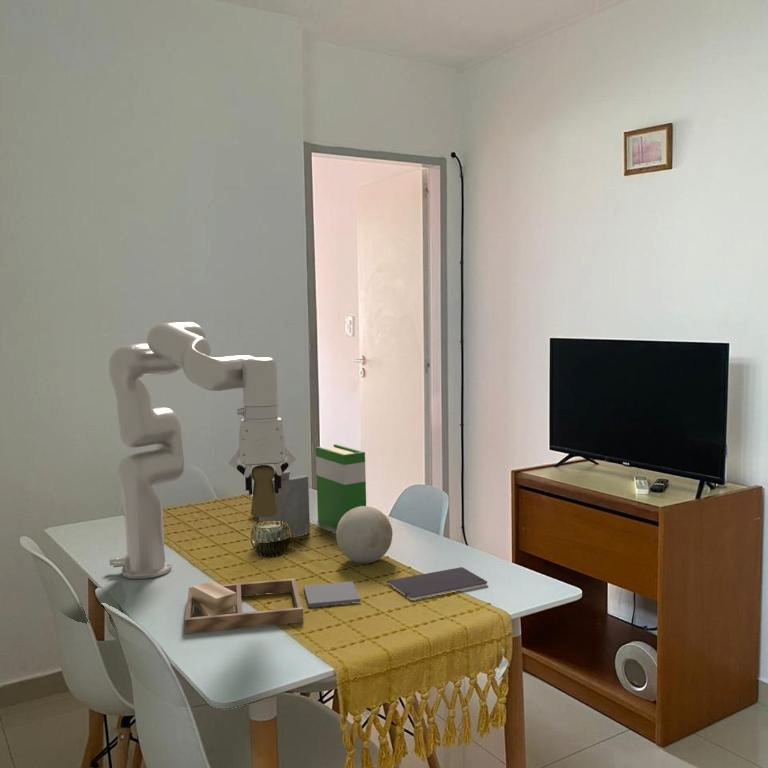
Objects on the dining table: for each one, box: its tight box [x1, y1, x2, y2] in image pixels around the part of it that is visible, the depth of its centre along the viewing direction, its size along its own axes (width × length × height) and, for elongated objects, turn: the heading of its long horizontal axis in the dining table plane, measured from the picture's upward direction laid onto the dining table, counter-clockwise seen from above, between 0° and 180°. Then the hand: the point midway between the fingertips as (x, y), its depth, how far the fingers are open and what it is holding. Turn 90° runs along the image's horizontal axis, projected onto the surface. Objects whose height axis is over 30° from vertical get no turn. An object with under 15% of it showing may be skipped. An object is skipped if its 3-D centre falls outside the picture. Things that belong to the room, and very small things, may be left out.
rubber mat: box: [303, 581, 362, 608], centre depth 192 cm, size 12×12×1 cm
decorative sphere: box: [335, 505, 394, 564], centre depth 216 cm, size 15×15×15 cm
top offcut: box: [192, 580, 237, 612], centre depth 182 cm, size 5×11×3 cm, turn 41°
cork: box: [250, 464, 278, 518], centre depth 182 cm, size 6×6×11 cm
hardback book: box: [315, 444, 367, 531], centre depth 251 cm, size 18×7×24 cm, turn 33°
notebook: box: [386, 567, 488, 600], centre depth 197 cm, size 13×2×21 cm
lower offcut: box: [195, 601, 237, 617], centre depth 183 cm, size 6×14×3 cm, turn 25°
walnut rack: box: [184, 578, 304, 634], centre depth 184 cm, size 25×20×3 cm
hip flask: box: [258, 469, 311, 538], centre depth 240 cm, size 16×4×20 cm, turn 121°
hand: (263, 491), depth 182 cm, fingers closed on cork, 5 cm apart
